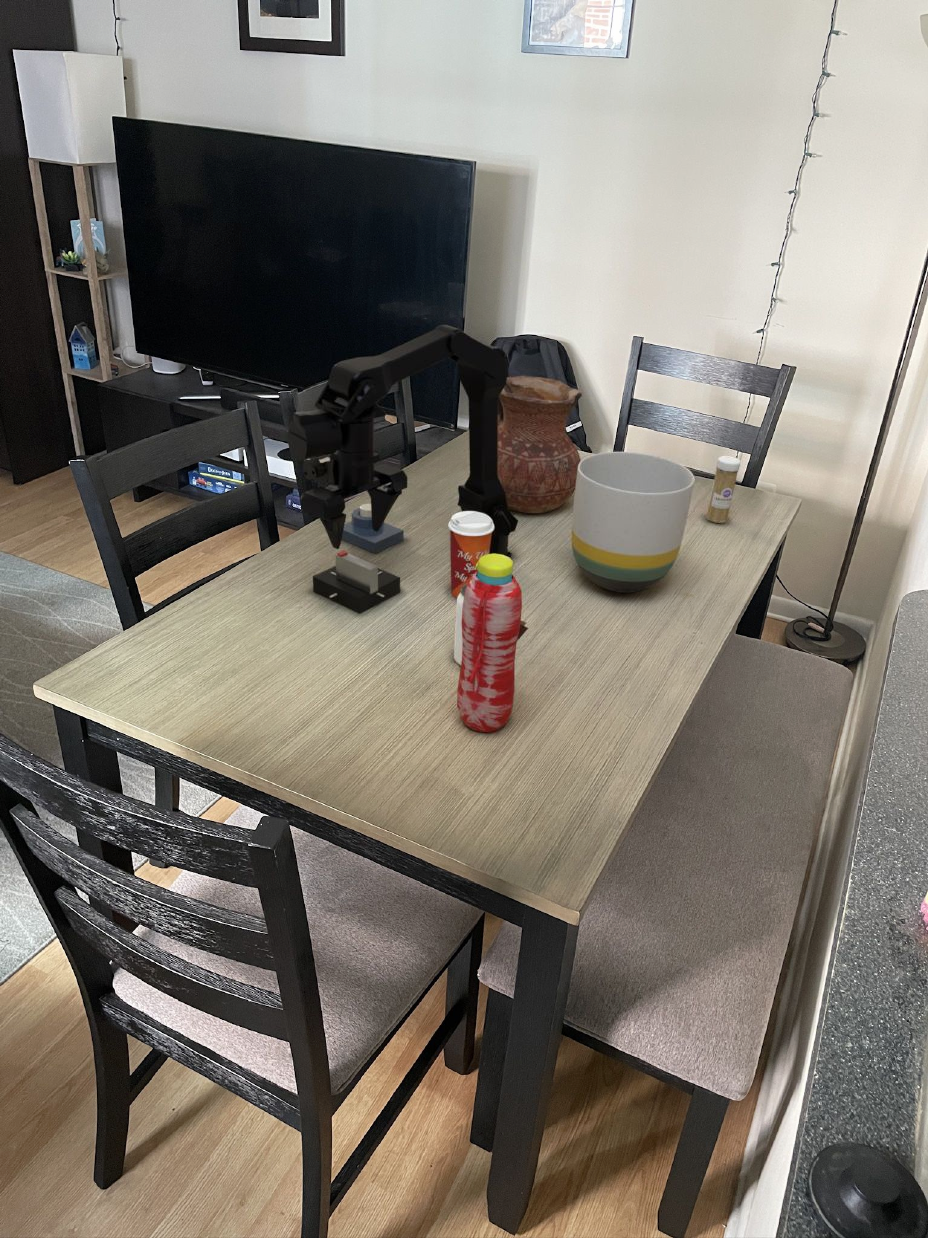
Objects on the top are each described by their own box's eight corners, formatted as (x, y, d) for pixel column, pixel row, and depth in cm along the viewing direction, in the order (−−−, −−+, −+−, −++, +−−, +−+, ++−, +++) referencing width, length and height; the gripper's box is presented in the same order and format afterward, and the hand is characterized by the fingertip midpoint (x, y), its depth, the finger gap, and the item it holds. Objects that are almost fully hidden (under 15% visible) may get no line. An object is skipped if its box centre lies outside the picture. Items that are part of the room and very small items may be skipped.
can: (491, 674, 133) (497, 604, 127) (449, 667, 134) (453, 598, 128) (499, 651, 139) (504, 583, 133) (458, 645, 140) (462, 577, 134)
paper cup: (457, 607, 150) (461, 531, 143) (437, 587, 156) (440, 513, 149) (498, 598, 153) (504, 524, 146) (476, 579, 159) (481, 506, 152)
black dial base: (411, 597, 152) (411, 581, 151) (357, 626, 143) (357, 609, 142) (354, 572, 159) (354, 556, 158) (299, 598, 150) (298, 581, 149)
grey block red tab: (378, 590, 148) (378, 564, 145) (370, 594, 146) (370, 568, 144) (343, 574, 152) (343, 549, 149) (336, 578, 150) (335, 553, 148)
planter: (545, 567, 165) (557, 457, 154) (634, 553, 172) (652, 447, 161) (599, 617, 149) (617, 499, 139) (695, 600, 157) (718, 486, 146)
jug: (594, 499, 194) (609, 385, 182) (549, 531, 179) (562, 409, 166) (506, 475, 204) (514, 366, 191) (456, 503, 188) (462, 386, 176)
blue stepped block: (407, 538, 172) (407, 519, 170) (374, 553, 166) (374, 534, 164) (367, 522, 178) (367, 504, 176) (334, 536, 172) (334, 517, 170)
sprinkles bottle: (714, 525, 185) (727, 463, 179) (701, 516, 189) (713, 456, 182) (732, 522, 187) (745, 461, 180) (718, 514, 191) (731, 454, 184)
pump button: (379, 515, 173) (379, 506, 172) (368, 520, 170) (368, 511, 169) (367, 510, 174) (367, 502, 173) (356, 515, 172) (356, 506, 171)
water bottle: (480, 685, 130) (491, 529, 118) (530, 701, 128) (547, 543, 115) (441, 728, 121) (449, 564, 108) (494, 747, 118) (509, 581, 106)
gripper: (359, 421, 148) (360, 508, 155) (273, 448, 135) (279, 542, 143) (410, 438, 142) (408, 527, 150) (325, 467, 129) (328, 564, 137)
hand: (356, 539), depth 145 cm, fingers open, 9 cm apart
